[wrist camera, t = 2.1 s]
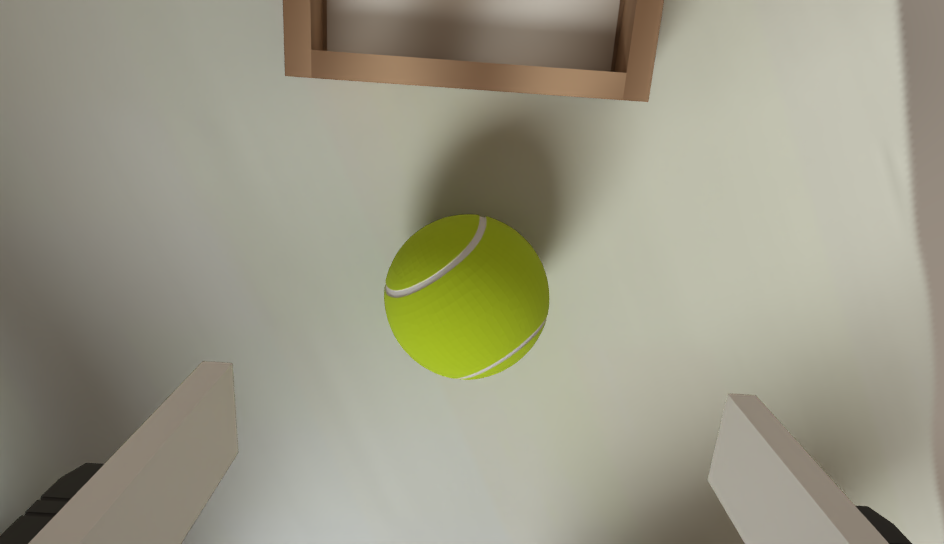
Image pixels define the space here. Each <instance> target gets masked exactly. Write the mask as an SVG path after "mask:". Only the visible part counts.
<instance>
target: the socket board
mask: <svg viewBox="0 0 944 544" xmlns="http://www.w3.org/2000/svg"><path fill="white" fill-rule="evenodd" d="M663 3H664V0H283V20H284V55H285V76H293V77H307V78H321V79H335V80H349V81H363V82H377V83H391V84H405V85H419V86H433V87H447V88H461V89H475V90H489V91H503V92H517V93H531V94H545V95H559V96H573V97H587V98H601V99H615V100H629V101H643V102H648V100H649V94H650V87H651V81H652V74H653V68H654V61H655V55H656V48H657V42H658V35H659V29H660V23H661V16H662V10H663Z"/></svg>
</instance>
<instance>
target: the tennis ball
mask: <svg viewBox="0 0 944 544" xmlns="http://www.w3.org/2000/svg"><path fill="white" fill-rule="evenodd" d="M384 301H385V309H386V314H387V318H388V322H389V324H390V327H391V329H392V332H393V334H394V336H395V337H396V339H397V341H398V342H399V344H400V345H401V346H402V348H403V349H404V350H405V351H406V352H407V353H408V354H409V355H410V357H411V358H413V359H414V360H415V361H416V362H417V363H419V364H420V365H422V366H423V367H425V368H426V369H428V370H430V371H432V372H434V373H436V374H439V375H442V376H445V377H449V378H458V379H463V380H471V379H479V378H484V377H488V376H491V375H494V374H497V373H499V372H501V371H503V370H505V369H507V368H509V367H510V366H512V365H513V364H515V363H516V362H518V361H519V360H520V359H521V358H522V357H523V356H524V355H525V354H526V353H527V352H528V351H529V350H530V349H531V348H532V347H533V345H534V344H535V342H536V341H537V339H538V338H539V336H540V334H541V332H542V330H543V328H544V325H545V322H546V317H547V315H548V309H549V288H548V281H547V277H546V273H545V270H544V268H543V265H542V263H541V261H540V259H539V257H538V255H537V254H536V252H535V251H534V249H533V248H532V246H531V245H530V244H529V243H528V242H527V241H526V240H525V239H524V238H523V237H522V236H521V235H520V234H519V233H518V232H517V231H515V230H514V229H513V228H511V227H510V226H508V225H506V224H504V223H503V222H500V221H498V220H496V219H493V218H490V217H487V216H486V217H480V216H479V215H475V214H463V215H454V216H449V217H445V218H442V219H439V220H437V221H434V222H432V223H430V224H428V225H426V226H425V227H423V228H422V229H420V230H419V231H417V232H416V233H415V234H414V235H412V236H411V237H410V238H409V239H408V240H407V241H406V242H405V243H404V245H403V246H402V247H401V248H400V250H399V251H398V253H397V254H396V256H395V258H394V259H393V261H392V264H391V266H390V268H389V271H388V274H387V278H386V285H385V290H384Z"/></svg>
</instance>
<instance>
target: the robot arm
mask: <svg viewBox="0 0 944 544" xmlns="http://www.w3.org/2000/svg"><path fill="white" fill-rule="evenodd" d="M237 454H238V440H237V425H236V410H235V395H234V380H233V364H232V363H224V362H208V361H203V362H202V363H201V364H200V365H199V366H198V367H197V368H196V369H195V370H194V371H193V372H192V373H191V374H190V375H189V376H188V377H187V378H186V379H185V380H184V382H183V383H182V384H181V385H180V386H179V387H178V388H177V389H176V390H175V391H174V392H173V393H172V394H171V395H170V396H169V397H168V398H167V399H166V400H165V401H164V402H163V403H162V404H161V406H160V407H159V408H158V409H157V410H156V411H155V412H154V413H153V414H152V415H151V416H150V417H149V418H148V419H147V420H146V421H145V422H144V423H143V424H142V425H141V426H140V427H139V428H138V430H137V431H136V432H135V433H134V434H133V435H132V436H131V437H130V438H129V439H128V440H127V441H126V442H125V443H124V444H123V445H122V446H121V447H120V448H119V449H118V450H117V451H116V452H115V454H114V455H113V456H112V457H111V458H110V459H109V460H108V461H107V462H106V463H105V464H96V463H85V464H84V465H82V466H80V467H78V468H77V469H75V470H73V471H72V472H70V473H68V474H66V475H65V476H63V477H61V478H60V479H59V480H58V481H57V482H56V483H55V484H54V485H53V486H51V487H50V488H49V489H48V490H47V491H46V492H45V493H44V494H43V495H42V496H41V499H40V500H37V501H36V502H35V503H34V504H33V505H32V506H31V507H30V508H29V509H28V510H27V511H26V512H25V515H24V516H20V517H19V518H18V519H17V520H16V521H15V522H14V523H13V524H12V525H11V526H10V527H9V528H8V529H7V530H6V531H5V532H4V533H3V534H2V535H1V536H0V544H181V543H182V541H183V540H184V538H185V537H186V535H187V533H188V532H189V530H190V529H191V527H192V525H193V524H194V522H195V521H196V519H197V517H198V516H199V514H200V513H201V511H202V510H203V508H204V506H205V505H206V503H207V502H208V500H209V498H210V497H211V495H212V494H213V492H214V490H215V489H216V487H217V486H218V484H219V482H220V481H221V479H222V478H223V476H224V475H225V473H226V471H227V470H228V468H229V467H230V465H231V463H232V462H233V460H234V459H235V457H236V455H237ZM708 482H709V484H710V485H711V487H712V489H713V490H714V492H715V494H716V495H717V497H718V499H719V501H720V502H721V504H722V506H723V507H724V509H725V511H726V512H727V514H728V516H729V518H730V519H731V521H732V523H733V524H734V526H735V528H736V530H737V531H738V533H739V535H740V536H741V538H742V540H743V541H744V543H745V544H912V543H911V542H910V541H909V540H908V539H907V538H906V537H905V536H904V535H903V534H902V533H901V532H900V531H899V529H898V528H897V527H896V526H895V525H894V524H892V523H891V522H890V521H888V520H887V519H885V518H884V517H882V516H881V515H879V514H878V513H877V512H875V511H874V510H872V509H871V508H869V507H867V506H855V505H854V504H853V503H852V502H851V501H850V500H849V498H848V497H847V496H846V495H845V494H844V493H843V492H842V491H841V490H840V488H839V487H838V486H837V485H836V484H835V483H834V482H833V481H832V480H831V478H830V477H829V476H828V475H827V474H826V473H825V472H824V471H823V469H822V468H821V467H820V466H819V465H818V464H817V463H816V462H815V461H814V459H813V458H812V457H811V456H810V455H809V454H808V453H807V452H806V451H805V449H804V448H803V447H802V446H801V445H800V444H799V443H798V442H797V441H796V439H795V438H794V437H793V436H792V435H791V434H790V433H789V432H788V431H787V429H786V428H785V427H784V426H783V425H782V424H781V423H780V422H779V421H778V419H777V418H776V417H775V416H774V415H773V414H772V413H771V412H770V410H769V409H768V408H767V407H766V406H765V405H764V404H763V403H762V402H761V400H760V399H759V398H758V397H757V396H756V395H744V394H728V393H727V397H726V402H725V406H724V410H723V415H722V419H721V423H720V428H719V432H718V436H717V441H716V445H715V449H714V454H713V458H712V462H711V467H710V471H709V475H708Z"/></svg>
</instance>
